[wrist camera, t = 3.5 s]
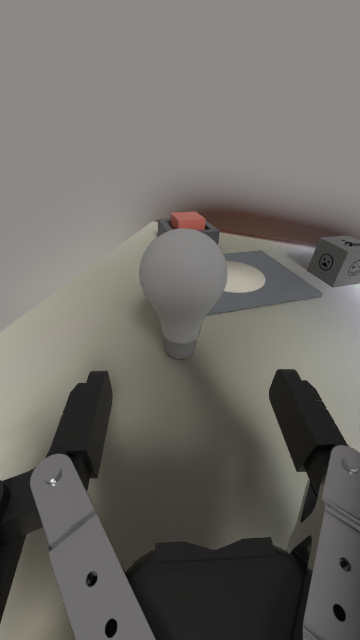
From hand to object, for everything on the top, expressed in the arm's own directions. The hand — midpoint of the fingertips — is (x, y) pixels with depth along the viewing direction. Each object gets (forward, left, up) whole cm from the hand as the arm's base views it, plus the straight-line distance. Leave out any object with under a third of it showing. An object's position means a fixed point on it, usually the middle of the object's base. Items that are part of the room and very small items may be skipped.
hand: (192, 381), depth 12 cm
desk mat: (-13, -20, -6) cm, 25 cm away
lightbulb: (-2, -8, -7) cm, 11 cm away
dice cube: (-28, -17, -7) cm, 34 cm away
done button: (-11, -33, -4) cm, 35 cm away
